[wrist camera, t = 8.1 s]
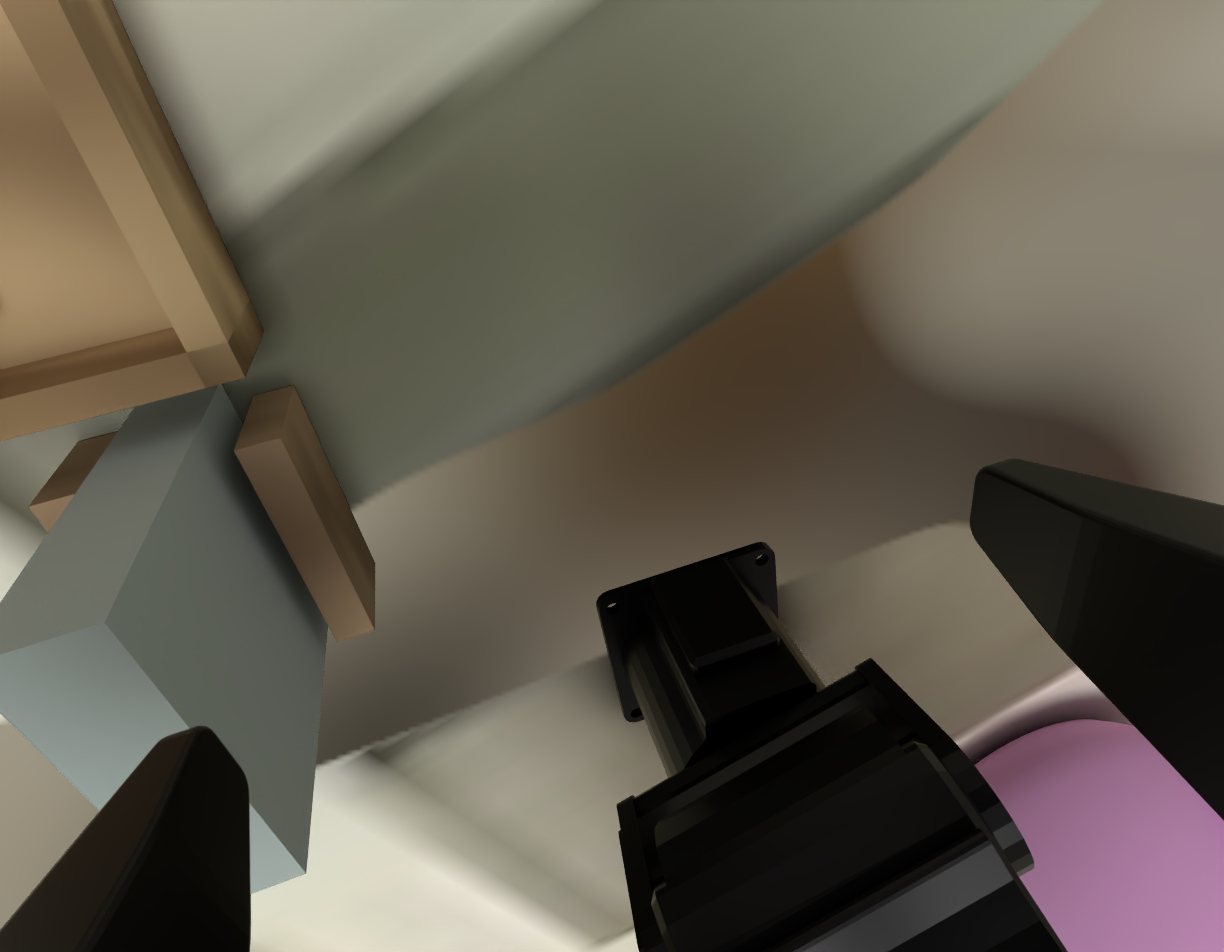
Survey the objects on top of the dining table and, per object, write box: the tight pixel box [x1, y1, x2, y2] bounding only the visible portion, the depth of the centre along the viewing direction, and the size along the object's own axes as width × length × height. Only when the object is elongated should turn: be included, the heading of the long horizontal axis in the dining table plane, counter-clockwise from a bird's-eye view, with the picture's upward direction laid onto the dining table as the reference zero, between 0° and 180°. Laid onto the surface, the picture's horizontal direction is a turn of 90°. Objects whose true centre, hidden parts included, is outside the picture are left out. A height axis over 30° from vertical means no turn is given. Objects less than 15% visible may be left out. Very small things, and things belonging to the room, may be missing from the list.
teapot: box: [975, 719, 1224, 952], centre depth 36 cm, size 22×22×14 cm
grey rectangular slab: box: [0, 384, 328, 894], centre depth 16 cm, size 7×2×9 cm, turn 11°
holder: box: [28, 385, 375, 642], centre depth 18 cm, size 6×5×3 cm
